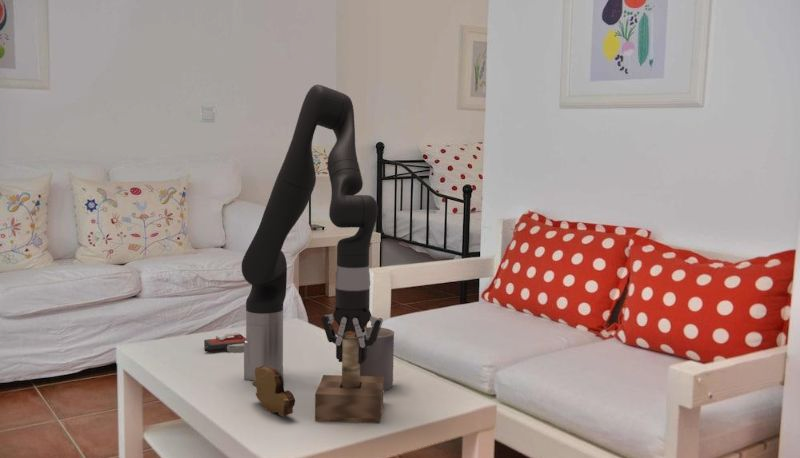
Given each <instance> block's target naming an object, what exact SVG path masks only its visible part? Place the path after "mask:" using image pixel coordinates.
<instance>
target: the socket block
mask: <svg viewBox="0 0 800 458" xmlns="http://www.w3.org/2000/svg"><path fill="white" fill-rule="evenodd" d="M384 392H385V391H384V377H375V376H360V388H342V374H341V375H339V374H338V375H337V374H336V375H333V374H330V375H329V374H323V376H322V377H321V380H320V382H319V384H318V387H317V389H316V391H315V397H314V409H315V410H314V421H315V422H332V423H333V422H335V423H336V422H337V423H366V424H367V423H368V424H381V419H382V414H383V407H384Z"/></svg>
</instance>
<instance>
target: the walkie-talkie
mask: <svg viewBox="0 0 800 458" xmlns="http://www.w3.org/2000/svg"><path fill="white" fill-rule="evenodd" d="M245 340H246V336H243V335H242V334H241V333H239V332H235V333H226V334H225V335H223V336H222V337H220V336H219V335H216V336H215V338H209V339H204V343H203V345H204V347H203V348H204V352H206V353H208V354H216V353H226V352H227V353H233V354H236V353H244V342H245Z"/></svg>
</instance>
